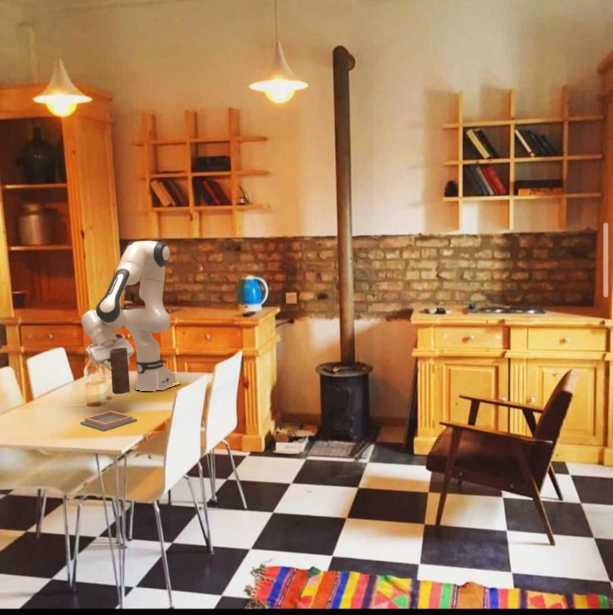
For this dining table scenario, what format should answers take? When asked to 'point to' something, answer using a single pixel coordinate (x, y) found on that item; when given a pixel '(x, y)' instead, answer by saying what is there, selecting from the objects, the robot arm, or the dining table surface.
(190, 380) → the dining table surface
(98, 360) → the robot arm
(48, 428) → the dining table surface
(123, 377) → the candle
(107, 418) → the plate
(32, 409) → the dining table surface
